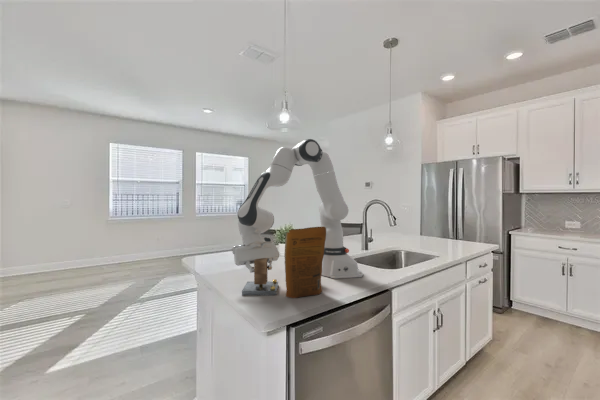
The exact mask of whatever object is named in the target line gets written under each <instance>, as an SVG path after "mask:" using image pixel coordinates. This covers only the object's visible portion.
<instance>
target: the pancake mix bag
mask: <svg viewBox="0 0 600 400" xmlns="http://www.w3.org/2000/svg"><path fill="white" fill-rule="evenodd" d="M285 233H286V234H285V239H284V241H285V243H284V271H285V272H284V273H285V288H286V291H285V297H286V298H290V299H298V298H305V297H310V296H318V295H321V294H322V292H323V288H322V275H321V274H322V261H323V256H324V248H325V240H326V227H321V226H312V227H304V228H292V229H288V232H285Z"/></svg>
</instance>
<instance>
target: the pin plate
mask: <svg viewBox="0 0 600 400" xmlns="http://www.w3.org/2000/svg"><path fill="white" fill-rule="evenodd" d="M278 288H279V281H278V280H277V279H276V278H274V279H272V281H267V283H266V284H254V281H247V282H246V283H245V285H244V286H243V288H242V289H241V295H242V296H277V294H278Z"/></svg>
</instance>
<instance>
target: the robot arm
mask: <svg viewBox="0 0 600 400" xmlns="http://www.w3.org/2000/svg"><path fill="white" fill-rule="evenodd" d="M304 165H308V166H309V167H310V169H311V171H312V176H313V179H314V185H315V188H316V192H317V193H318V195H319V198H320V200H321V202H320V204H319V206H318V212H319V219H320V227H326V240H325V248H324V256H323V261H322V274H321V276H323V277H328V278H331V279H349V278H352V279H353V278H362V277H363V275H364V274H363V271H362V270H361V269H359V266H358V262H357V261H356V260H355V259H354V258H353V257H351V255H349V254H348V253H350V249H349V248H347V247H346V246H344V229H343V226H342V222H341V221H342V220H344V219H346V217H348V214H349V207H348V206H349V205H348V204H347V203H346V201H345V200H344V197H343V194H342V191H341V189H340V187H339V184H338V181H337V180H338V179H337V178H336V173H335V170H334V165H333V163H332V161H331V158H330V156H329V154H328V153H327V152H325V151H323V149H322V148H321V146H320V143H318V141H317V140H315V139H311V138H307V139H303V140H301V141H300V142H298V143H297V144H296V145H294V146H293V147H291V148H290V147H287V146H281V147H280V148H278V149H277V151H276V152H275V154H274V155H273V158H272V160H271V162H270V164H269V167H268V169H267V170H266V171H263V172H262V173H260V175H259V176H258V177H257V179H256V180H255V183H254V184H253V186H252V188H251V190H250V192H249V193H248V195H247V197H246V198H245V200H244V201H243V203H242V204H241V205H240V206H239V208H238V209H237V210H238V211H237V219H238V220H237V225H238V232H239V234H240V236H241V240H242V244H241V245H240V244H239V245H234V246H232V248H231V252H232V255H233V257H234V258H233V259H234V264H235V266H245V267H246V268H247V270H249V272H250V273H254V271H255V270H254V266H252V264H253V265H254V261H255V259H261V258H267V271H271V270H272V269H273V266H272V264H273V262H275V261H278V259H279V257H280V256H281V255H280V252H279V250H278V247H277V245H276V244H275V243H273V242H274V240H273V239H274V238H271V237H267V236H263V235H262V234H264V233H265V232H267V231H269V230H270V229H272V227H273V225H274V223H275V217H274V214H273V213H272V212H271V211H269V210H267V209H264V208H263V207H260V206H259V202H260V200H261V199H262V198H263V195H264V193H265V191H266V190H267V189H268V188H271V187H275V188H276V187H283V186H285V185H287V183H288V182H289V180H290V178H291V176H292V172H293V170H294V167H295V166H298V167H299V166H300V167H301V166H304Z"/></svg>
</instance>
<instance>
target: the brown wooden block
mask: <svg viewBox="0 0 600 400" xmlns="http://www.w3.org/2000/svg"><path fill="white" fill-rule="evenodd" d="M267 266H268V262H267V258H261V259H255V261H254V264H253V267H254V270H255V271H254V272H253V274H254V275H253V276H254V277H253V278H254V279H253V282H254V284H266V283H267V282H268V268H267Z"/></svg>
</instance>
